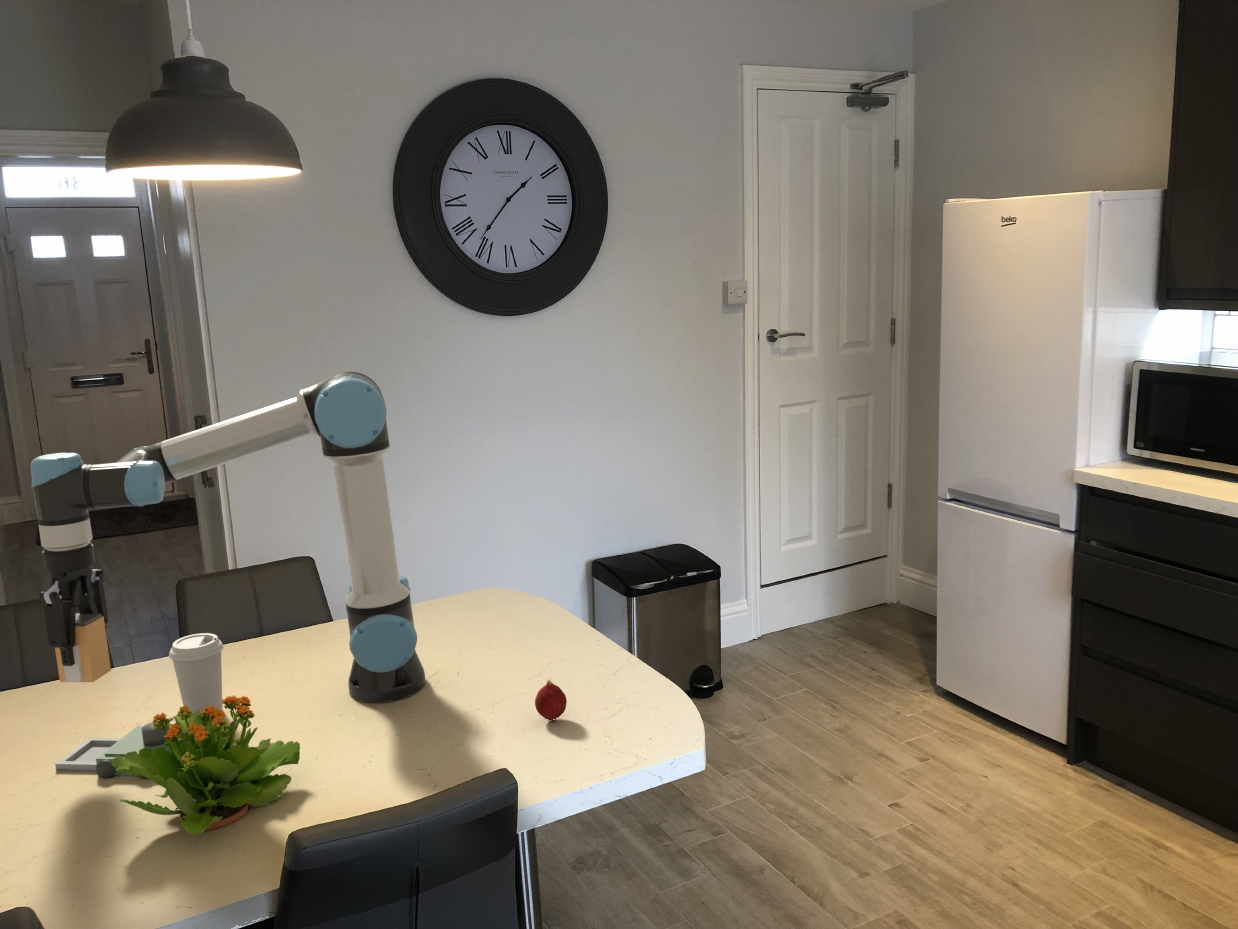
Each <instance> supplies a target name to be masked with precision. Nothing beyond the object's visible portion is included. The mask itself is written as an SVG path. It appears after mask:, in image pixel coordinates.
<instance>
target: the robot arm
mask: <svg viewBox="0 0 1238 929" xmlns="http://www.w3.org/2000/svg"><path fill="white" fill-rule="evenodd" d="M387 423H388V422H387V405H386V403H385V399H384V396H383V394H382V391H381V388H380V387H379V385H378V384H377V383H376V381H374V380H373V379H372V378H371V377H369V376H368V375H366V374H363V373H361V372H357V371H344V372H343V371H342V372H340V373H337V374H335V375H332V376H331V377H329V378H327V379H325V380H323V381H321V382H318V383H315V384H313V385H311V386H308V387H305V388H303V389H300V390H299V392H298V394H297V396H296V397H293V398H289V399H287V400H286V399H285V400H283V401H281V402H280V401H279V402H276V403H275V404H272V405H268V406H265V407H262V408H258V409H256V410H253V411H250V412H248V413H247V412H246V413H243V414H242V415H238V416H235V417H232V418H229V419H227V420H223V421H220V422H217V423H214V424H211V425H208V426H207V425H206V426H205V427H202V428H199V429H196V430H193V431H189V432H186V433H183V434H180V435H178V436H174V437H172V438H168V439H165V440H163V441H161V442H160V441H159V442H158V443H153V444H151V445H147V446H145V445H143V446H139V447H136V448H133V449H130V450H129V451H128V452H127V453H125V454H124V456H122V457H121V458H120V459H119V460H117V461H116V462H110V463H109V462H108V463H97V464H89V463H88V464H87V463H85V464H84V461H83V460H82V456H81V455H80V454H78V453H77V452H56V453H50V454H49V453H48V454H43V455H38V456H37V457H35V458H34V459H32V461H31V463H30V475H31V477H30V478H31V484H30V486H31V488H32V493H33V499H34V504H35V505H34V506H35V512H36V516H37V524H38V530H39V538H40V543H41V544H40V545H41V547H43V548H44V549H43V550H42V553H41V554H42V561H43V566H44V567H43V568H44V570H45V571H46V572H48V573H49V575H51V581H50V587H49V589H48V590H47V591H40V593H39V596H38V597H39V599H40V602H41V603H42V606H43V613H44V620H45V626H46V633H47V641H48V647H49V648H52V649H53V648H54V649H55V648H59V649H60V652H61V659H62V664H63V666H64V671H65V678H66V682H65V683H84V682H83V681H84V678H83V671H82V664H81V657H80V650H79V645H75V621H76V613H77V610H78V613H101V615H102V616H104V623H105V631H106V630H107V628H108V627H107V624H108V623H109V615H108V614H109V613H108V608H107V600H106V595H105V588H104V574H105V571H104V569H102V568H101V569H99V568H98V569H97V568H96V569H92V566H93V565H94V564H95V562H96V556H95V550H94V549H95V548H94V544H93V543H92V542H91V541H92V540H93V531H92V526H91V519H90V514H89V510H94V509H96V510H97V509H108V508H110V509H111V508H122V507H123V508H125V507H144V506H147V505H154V504H160V503H161V502H162V501H163V499H164V497H165V492H166V485H167V484H170V483H172V482H176V481H178V480H181V479H183V478H186V477H189V476H192V475H196V474H198V473H201V472H204V471H207V470H210V469H213V468H216V467H219V466H222V465H226V464H229V463H231V462H234V461H237V460H240V459H244V458H247V457H249V456H252V455H255V454H258V453H261V452H264V451H267V450H270V449H273V448H276V447H280V446H283V445H286V444H288V443H291V442H294V441H297V440H301V439H304V438H306V437H309V436H313V437H316V438H320V443H321V450H322V451H321V452H322V456H323V458H325V459H326V460H328V461H330V462H331V464H332V465H333V469H334V470H333V471H334V478H335V483H336V490H337V491H336V492H337V497H338V504H339V510H340V518H341V524H342V529H343V537H344V543H345V551H346V556H347V558H346V559H347V564H348V571H349V577H350V578H349V579H350V585H349V587H348V593H349V594H348V595H347V597H346V598H345V600H344V601H345V602H344V603H345V608H346V615H347V623H348V628H349V637H350V638H349V644H348V645H349V650H350V653H351V654H352V657H353V661H352V665H351V668H350V673H349V677H348V683H347V684H348V693H349V695H350V697H352V698H353V699H355V700H357V701H361V702H366V703H387V702H388V703H389V702H394V701H398V700H402V699H405V698H409V697H410V696H413V695H415V694H417V693H419V692H420V691H422V689H423V688H424V687H425V686H426V685H425V684H426V673H425V672H426V671H425V669H424V667H423V664H422V662H421V661H420V657H419V656H418V654H417V651H416V646H417V643H418V632H417V631H416V629H415V623H414V622H415V620H414V615H413V614H414V613H413V607H412V599H411V594H410V591H411V587H410V584H409V579H408V578H407V577H406V576H404V575H399V567H398V560H397V559H398V558H397V553H396V552H397V550H396V545H395V538H394V531H393V530H394V529H393V524H392V522H393V521H392V518H391V508H390V501H389V496H388V495H389V494H388V488H387V482H386V481H387V479H386V474H385V473H386V472H385V467H384V466H385V465H384V456H385V454H387V452H388V451H389V449H390V448H391V447H390V446H391V445H390V438H389V437H390V436H389V430H388V424H387Z"/></svg>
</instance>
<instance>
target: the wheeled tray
mask: <svg viewBox="0 0 1238 929" xmlns="http://www.w3.org/2000/svg"><path fill="white" fill-rule="evenodd" d="M153 727H154V725H153V721H151V722H149V723H146V724H145V725H136V726H134V728H132V730H130V731H129V732H127V733H126V734H125V735H124V736H122V737H89V738H88V739H86V740H85V741H83V743H81V744H80V745H79V746H77V747H75V748H74V749H73V750H72V751H71V752H69V753H68V754H66V755H65V756H64V757H63V758H61V759H59V760H58V761H57V762H55V770H56V771H68V772H69V771H70V772H71V771H72V772H74V771H77V772H83V771H84V772H96V773H97V775H98V776H99V777H101V778H103V779H108V778H110V777H113V776H129V777H131V776H133V777H134V776H137V777H139V778H140V779H142V780H143V779H144V780H147V779H149V778H147V777H144V776H141V775H137V774H133V773H126V772H116V770H117V767H116V768H113V766H112V764H111V760H112V759H113V758H115V756H116V755H118V756H121V757H123V758H124V757H125V756H124V755H125V754H127V753H128V752H133V751H136V752H137V753H138V754H139V750H140V749H143V748H147V749H149V748H150V749H152V751H153V752H154V750H155V748H156V747H162V748H165V750H168V751H169V748H168V747H167V746H164V745H165V744H164V743H165V742H167V740H166V738H164V736H165V734H164V732H163V730H161V729H158V730H154V728H153ZM170 727H171V726H166V728H165V729H164V730H165V732H166V735H167V731H168V730H169V729H170ZM161 728H162V726H161ZM178 740H181V739H178ZM177 759H178V758H177ZM115 769H116V770H115Z"/></svg>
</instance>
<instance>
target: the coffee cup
mask: <svg viewBox="0 0 1238 929" xmlns="http://www.w3.org/2000/svg"><path fill="white" fill-rule="evenodd" d="M171 645H172V647H171V648H170V650H169V652H168V653H169V654H168V658H170V659H171V660H172V663H173V668H174V672H175V676H176V679H177V680H176V681H177V684H178V688H179V693H180V698H181V701H182V707H183V706H184V705H187V706H188V707H189V708H190V709H189V710H188V712H189V711H190V710H192V713H193V714H194V712H196V711H200V712H202V711H203V710H205V709H204V708H206V707H208V706H214V707H215V708H216V707H218V709H219V710H222V711H223V704H222V700H223V680H222V679H223V678H222V677H223V676H222V675H223V674H222V672H223V671H222V651H223V650H224V644H223V642H222V641H221V639H219V637H218V635H216V634H214V633H211V632H210V633H209V632H205V633H203V632H202V633H201V632H200V633H195V634H190V635H187V636H186V635H185V636H183V637H180V638H178V639H176V640H175V641H174V642H173V643H172V644H171Z"/></svg>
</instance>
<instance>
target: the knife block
mask: <svg viewBox="0 0 1238 929" xmlns="http://www.w3.org/2000/svg"><path fill="white" fill-rule="evenodd" d="M105 626H106V624H105V623H104V616H102V615H101V613H80V612H78V613H77V612H76V621H75V645H79V650H80V657H81V664H82V671H83V678H84V681H83V682H82V683H94V682H96V681H97V680H99V679H100V678H102V677H103V676H104V675H106V674H108V673H109V672H111V671H112V669H111V663H110V661H111V660H110V654H109V653H110V652H109V646H108V640H107V639H108V637H107V633H106V630H105ZM54 649H55V650H54V652H55V659H56V663H57V671H58V672H57V673H58V677H59V678H58V679H59V682H60V683H67V682H66V678H65V671H64V666H63V664H62V659H61V652H60V649H59V648H54Z"/></svg>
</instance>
